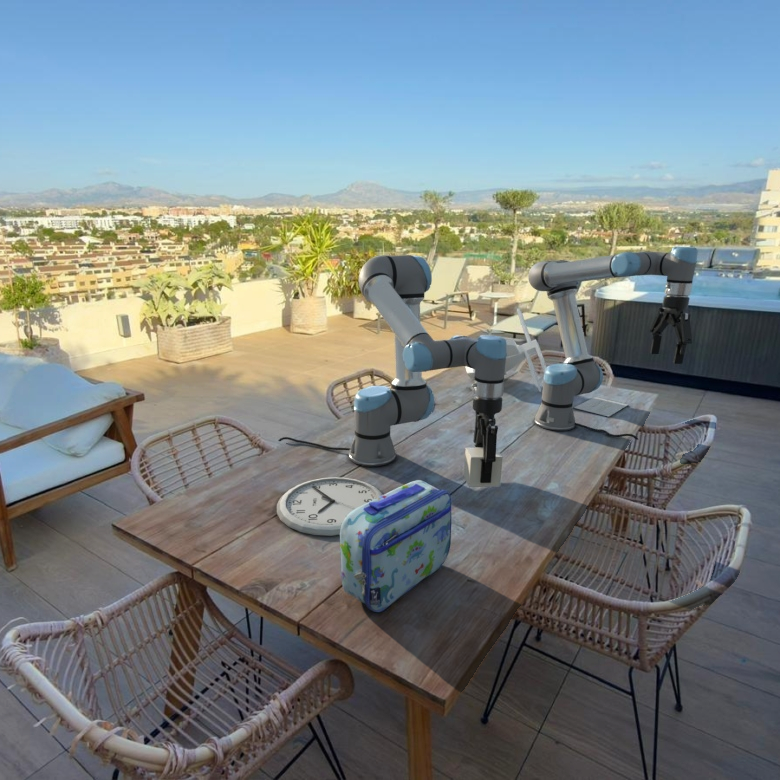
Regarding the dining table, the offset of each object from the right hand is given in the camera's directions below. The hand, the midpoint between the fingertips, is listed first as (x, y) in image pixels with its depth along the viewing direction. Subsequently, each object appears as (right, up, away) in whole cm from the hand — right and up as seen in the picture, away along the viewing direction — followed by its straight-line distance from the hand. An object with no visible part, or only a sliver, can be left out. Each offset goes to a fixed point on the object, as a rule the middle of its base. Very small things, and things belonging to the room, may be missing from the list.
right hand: (665, 358), depth 178 cm
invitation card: (-2, -18, +48) cm, 52 cm away
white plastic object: (-38, -9, +76) cm, 86 cm away
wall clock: (-110, -42, -35) cm, 123 cm away
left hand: (-69, -34, -35) cm, 84 cm away
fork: (-77, -18, +45) cm, 91 cm away
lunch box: (-92, -52, -66) cm, 125 cm away
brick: (-69, -36, -35) cm, 85 cm away
